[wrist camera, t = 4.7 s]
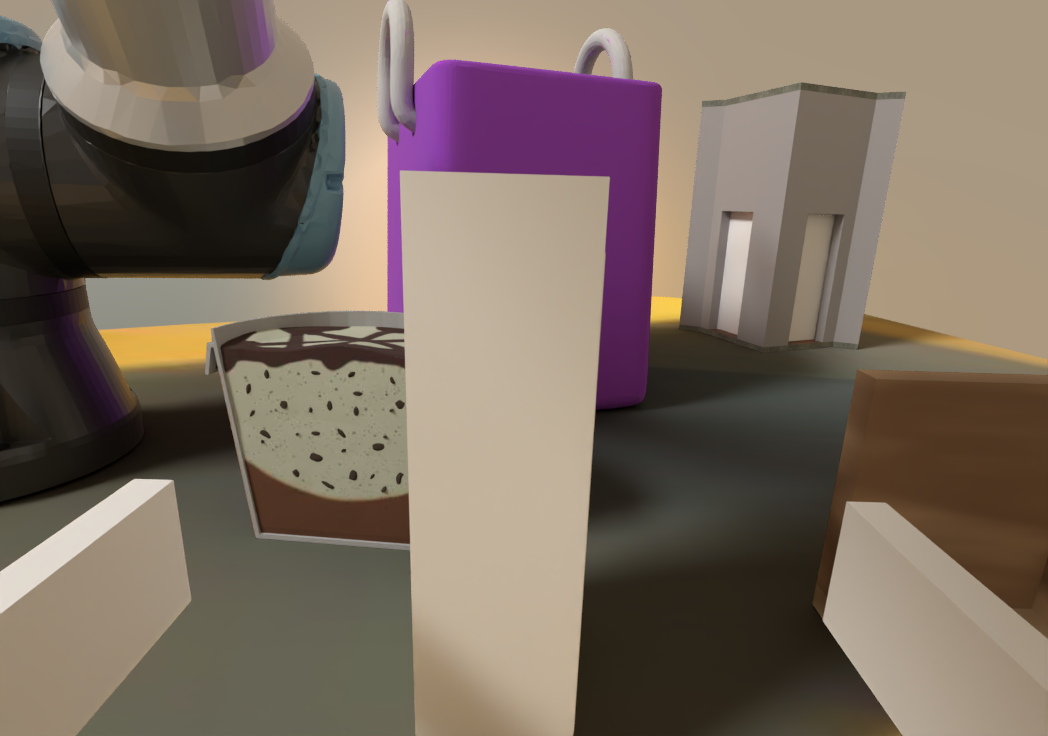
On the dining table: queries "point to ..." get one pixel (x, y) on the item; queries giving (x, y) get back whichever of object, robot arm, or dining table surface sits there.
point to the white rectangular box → (500, 441)
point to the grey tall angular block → (788, 215)
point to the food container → (319, 424)
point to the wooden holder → (954, 474)
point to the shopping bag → (537, 161)
